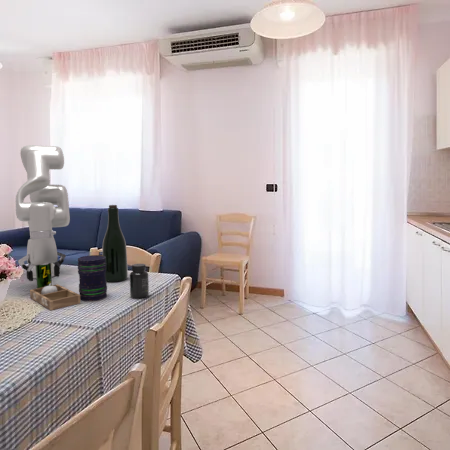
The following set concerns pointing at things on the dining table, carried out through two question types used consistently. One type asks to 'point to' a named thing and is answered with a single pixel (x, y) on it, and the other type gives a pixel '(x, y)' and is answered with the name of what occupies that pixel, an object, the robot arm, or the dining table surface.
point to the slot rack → (55, 297)
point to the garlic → (49, 289)
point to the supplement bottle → (139, 282)
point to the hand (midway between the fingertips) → (44, 278)
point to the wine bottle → (114, 248)
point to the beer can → (43, 275)
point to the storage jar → (92, 277)
